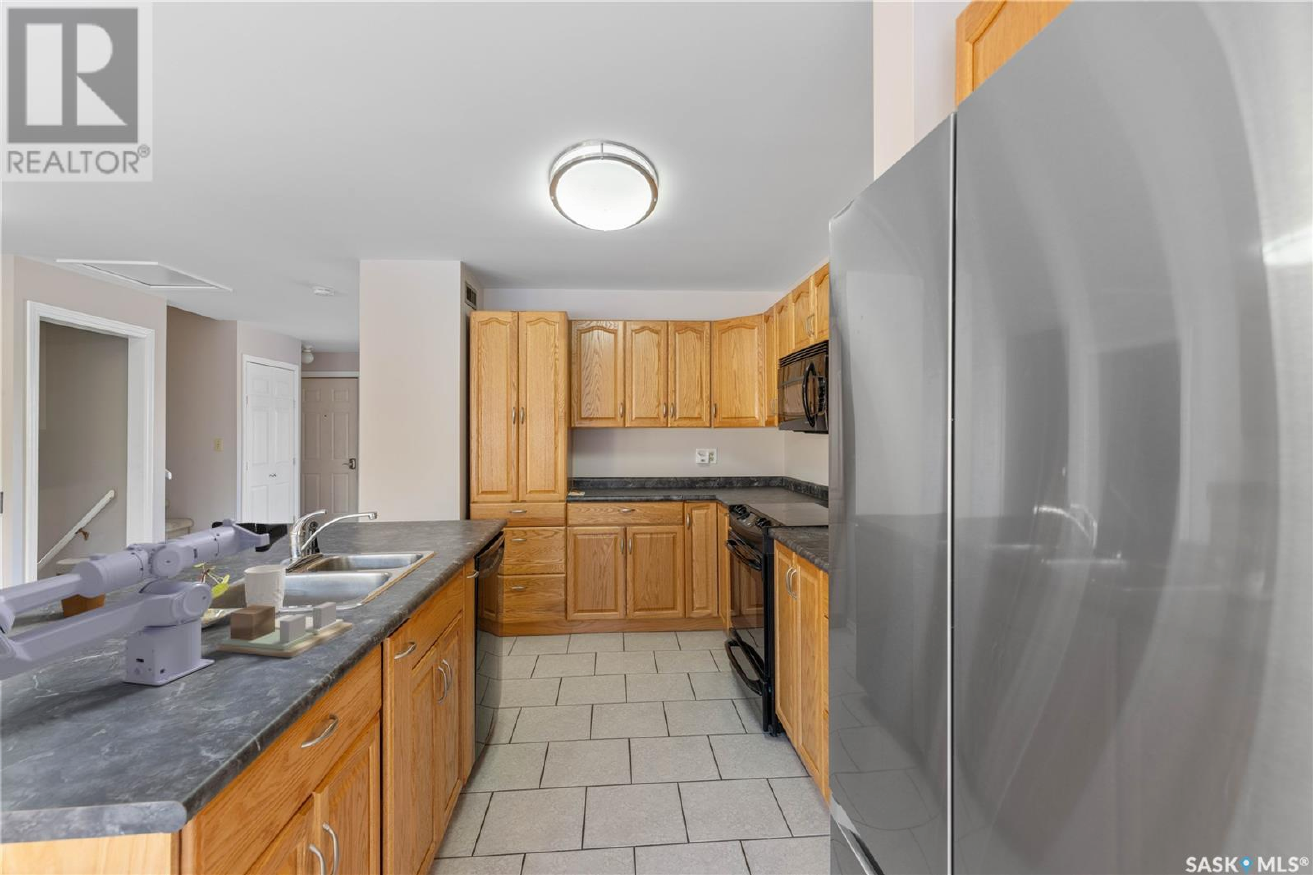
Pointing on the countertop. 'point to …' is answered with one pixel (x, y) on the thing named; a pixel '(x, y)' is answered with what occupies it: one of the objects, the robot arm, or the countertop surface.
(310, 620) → the white strip
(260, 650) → the base
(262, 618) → the walnut block
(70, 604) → the disposable coffee cup
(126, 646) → the robot arm
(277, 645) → the green strip
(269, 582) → the white cup
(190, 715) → the countertop surface
